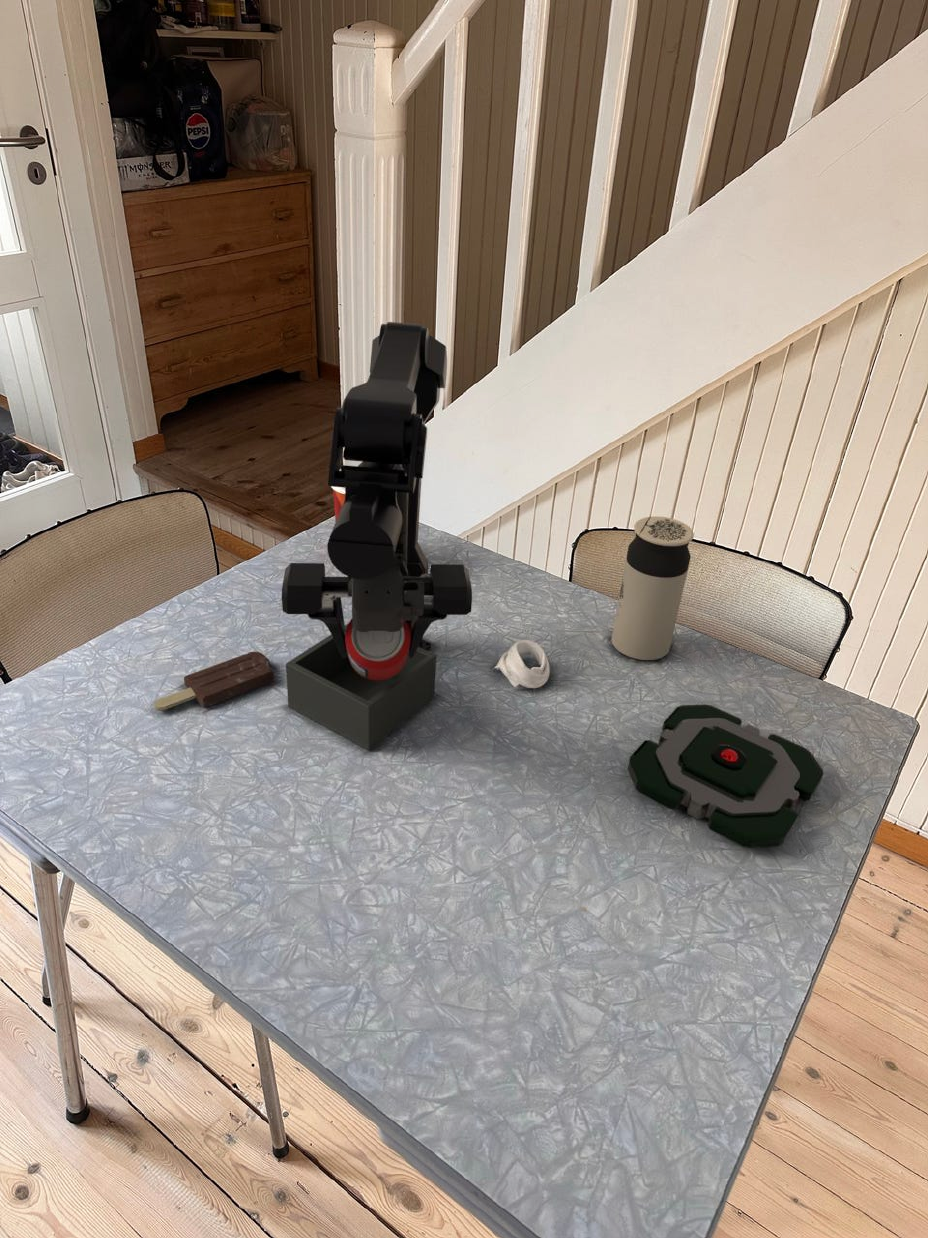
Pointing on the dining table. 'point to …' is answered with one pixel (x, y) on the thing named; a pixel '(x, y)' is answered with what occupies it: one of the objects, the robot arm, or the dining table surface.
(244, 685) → the ice cream bar
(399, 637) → the beverage can
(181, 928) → the dining table surface
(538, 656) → the white bandage roll
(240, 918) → the dining table surface
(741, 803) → the clover-shaped pad
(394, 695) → the trash bin
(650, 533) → the travel mug
